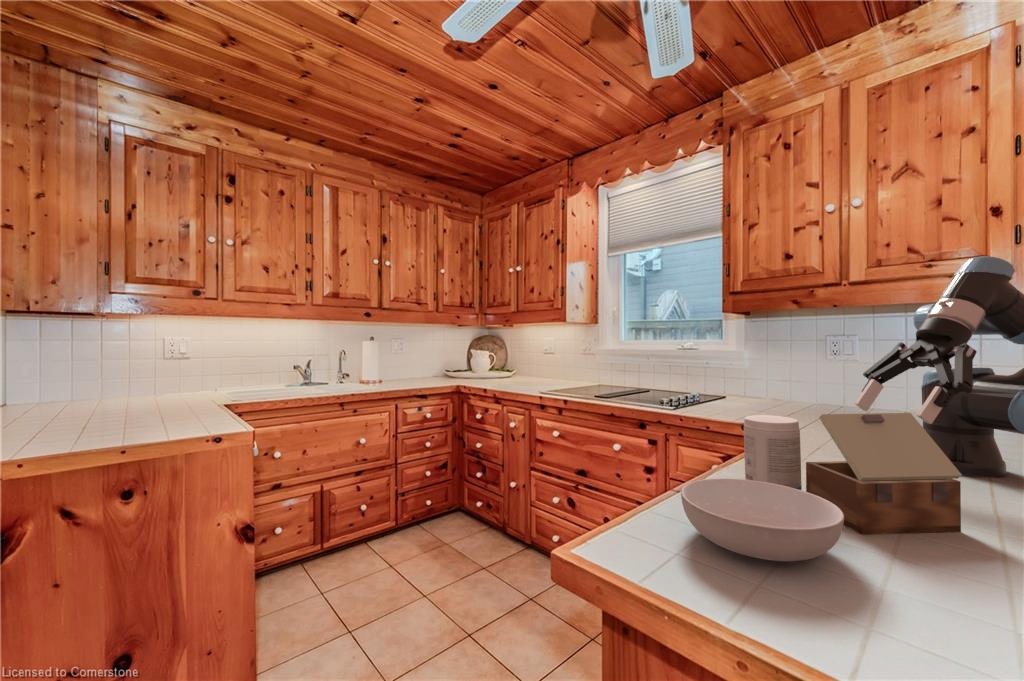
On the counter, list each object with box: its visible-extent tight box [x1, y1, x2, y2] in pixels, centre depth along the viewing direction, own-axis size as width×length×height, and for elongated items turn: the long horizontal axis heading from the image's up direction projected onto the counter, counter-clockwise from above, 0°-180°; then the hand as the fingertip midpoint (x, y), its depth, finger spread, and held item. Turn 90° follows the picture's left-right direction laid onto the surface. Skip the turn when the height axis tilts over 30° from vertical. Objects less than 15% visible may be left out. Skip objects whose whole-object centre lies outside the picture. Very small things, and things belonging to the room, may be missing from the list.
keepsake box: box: [805, 460, 962, 536], centre depth 73 cm, size 16×12×8 cm
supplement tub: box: [743, 414, 803, 491], centre depth 86 cm, size 10×10×15 cm
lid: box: [818, 412, 963, 481], centre depth 72 cm, size 16×12×2 cm
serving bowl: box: [680, 477, 844, 562], centre depth 65 cm, size 21×21×7 cm
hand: (889, 413), depth 87 cm, fingers open, 13 cm apart
